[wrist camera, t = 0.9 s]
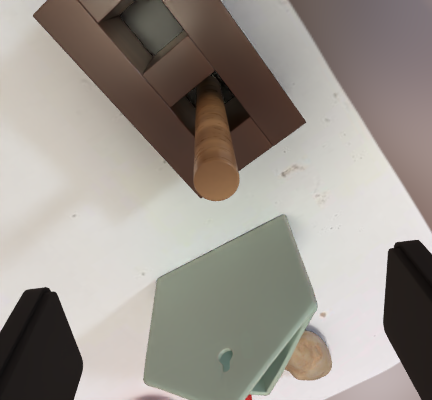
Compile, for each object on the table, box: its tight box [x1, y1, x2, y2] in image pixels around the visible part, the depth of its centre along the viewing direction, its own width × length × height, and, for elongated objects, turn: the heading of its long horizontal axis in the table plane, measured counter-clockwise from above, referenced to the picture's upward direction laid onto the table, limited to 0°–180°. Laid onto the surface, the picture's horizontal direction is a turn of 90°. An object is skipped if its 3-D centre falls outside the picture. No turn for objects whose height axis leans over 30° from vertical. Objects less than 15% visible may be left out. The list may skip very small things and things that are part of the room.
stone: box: [285, 331, 332, 380], centre depth 51 cm, size 7×6×8 cm
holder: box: [33, 0, 306, 198], centre depth 32 cm, size 10×17×8 cm, turn 38°
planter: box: [143, 215, 318, 400], centre depth 38 cm, size 16×8×20 cm, turn 121°
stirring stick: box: [193, 76, 239, 201], centre depth 29 cm, size 2×2×20 cm
